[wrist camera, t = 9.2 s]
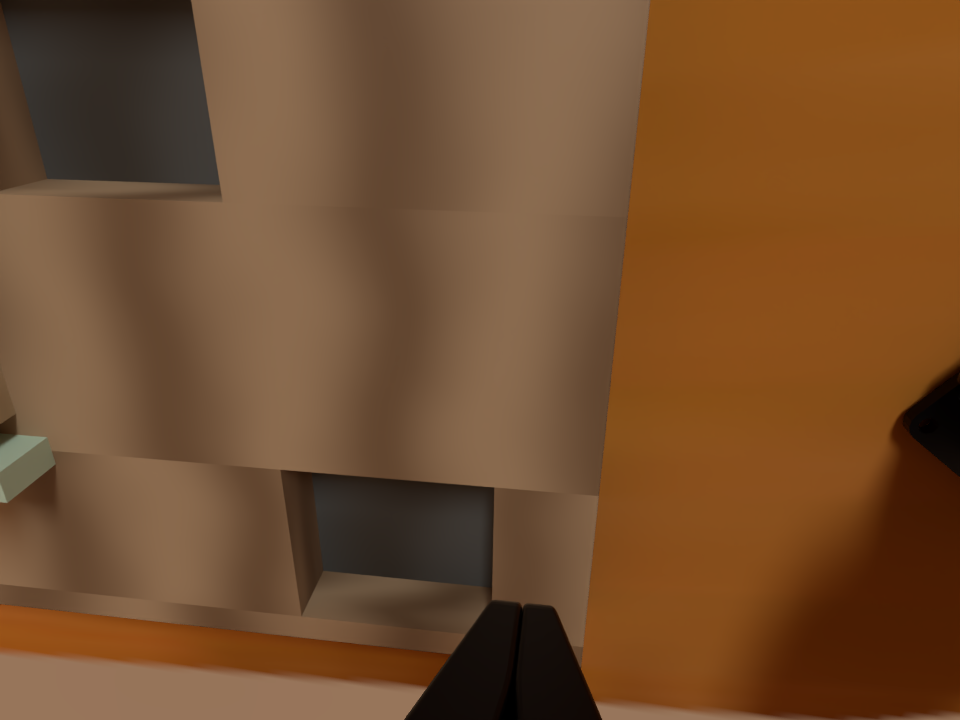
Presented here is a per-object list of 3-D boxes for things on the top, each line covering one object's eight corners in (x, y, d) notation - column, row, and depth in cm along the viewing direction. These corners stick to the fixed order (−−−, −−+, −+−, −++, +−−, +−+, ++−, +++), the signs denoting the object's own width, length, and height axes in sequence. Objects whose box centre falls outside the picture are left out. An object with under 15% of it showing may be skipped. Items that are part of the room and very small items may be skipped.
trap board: (651, -121, 15) (665, -152, 13) (579, 611, 24) (580, 668, 22) (-279, -104, 17) (-405, -127, 15) (-18, 550, 27) (-72, 596, 25)
